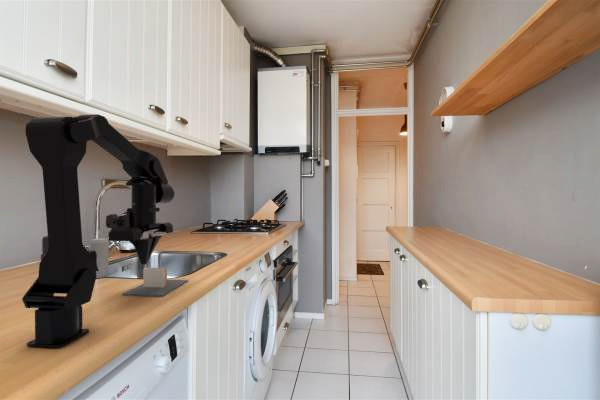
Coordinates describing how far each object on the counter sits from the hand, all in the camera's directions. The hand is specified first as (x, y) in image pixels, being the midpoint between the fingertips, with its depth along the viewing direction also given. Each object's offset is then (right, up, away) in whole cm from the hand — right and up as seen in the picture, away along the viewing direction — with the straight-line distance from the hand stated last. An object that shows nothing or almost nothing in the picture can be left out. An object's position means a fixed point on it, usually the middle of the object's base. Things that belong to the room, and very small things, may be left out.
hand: (144, 264), depth 80 cm
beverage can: (-23, -8, +18) cm, 30 cm away
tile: (0, -8, +6) cm, 10 cm away
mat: (+1, -8, +6) cm, 10 cm away
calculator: (-27, -8, +6) cm, 29 cm away
